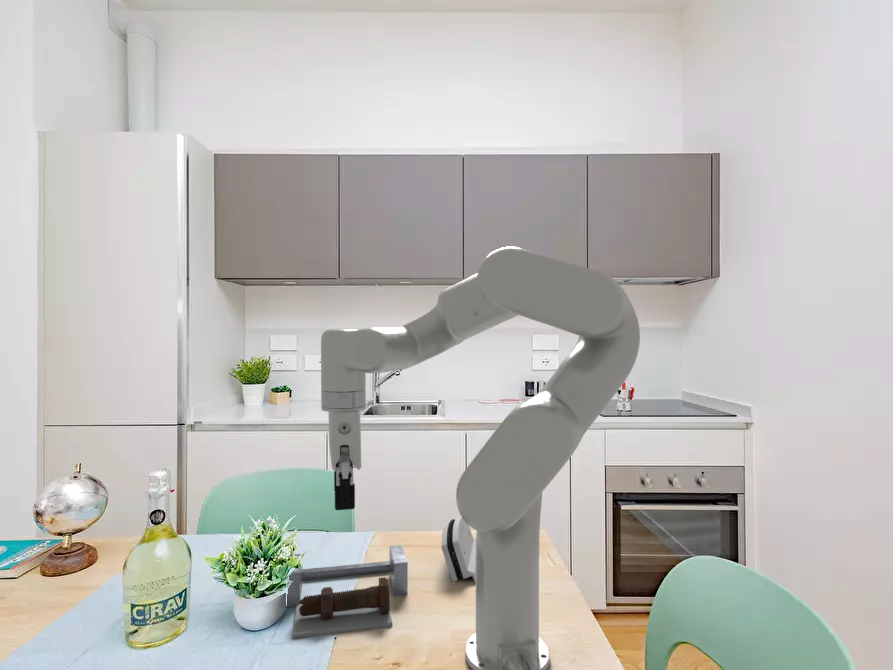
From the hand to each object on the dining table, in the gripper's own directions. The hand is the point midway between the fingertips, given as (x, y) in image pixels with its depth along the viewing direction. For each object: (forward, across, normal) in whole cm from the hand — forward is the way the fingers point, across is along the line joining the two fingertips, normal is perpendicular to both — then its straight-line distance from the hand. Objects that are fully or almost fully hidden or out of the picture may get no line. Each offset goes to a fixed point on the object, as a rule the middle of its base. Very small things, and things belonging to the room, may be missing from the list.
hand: (344, 499), depth 89 cm
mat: (+20, 0, 0) cm, 20 cm away
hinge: (+21, +16, -25) cm, 36 cm away
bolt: (+20, 0, 0) cm, 20 cm away
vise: (+20, +11, -1) cm, 23 cm away
